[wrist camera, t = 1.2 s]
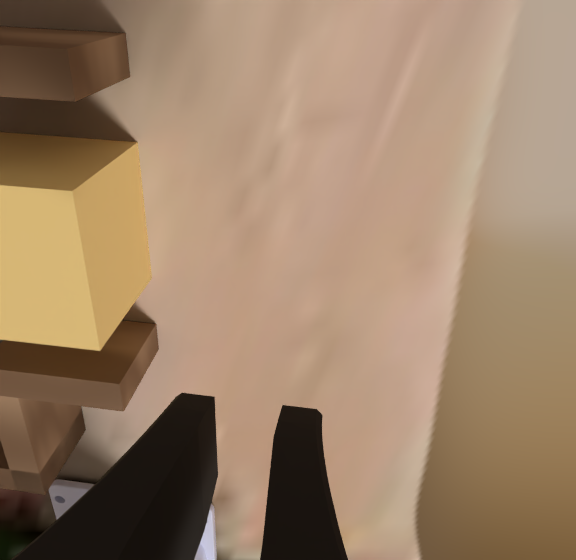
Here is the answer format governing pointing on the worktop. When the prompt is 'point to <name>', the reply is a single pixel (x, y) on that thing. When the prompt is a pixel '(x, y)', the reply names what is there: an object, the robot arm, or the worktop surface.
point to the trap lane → (47, 358)
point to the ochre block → (69, 238)
